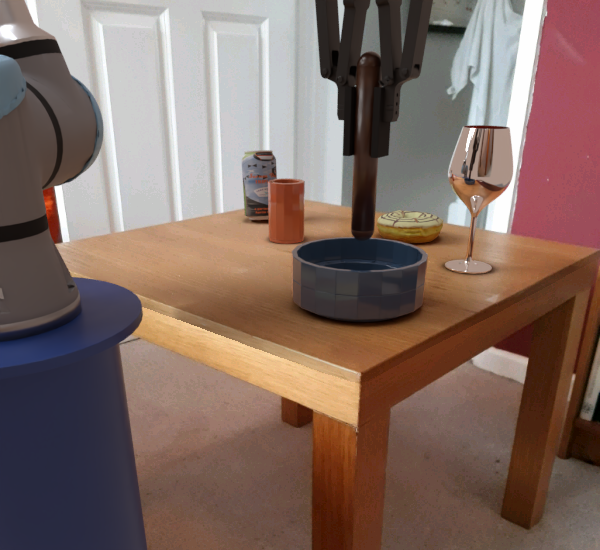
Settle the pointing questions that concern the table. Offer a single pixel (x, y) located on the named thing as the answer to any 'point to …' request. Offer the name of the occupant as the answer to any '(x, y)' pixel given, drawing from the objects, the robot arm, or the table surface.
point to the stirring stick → (364, 148)
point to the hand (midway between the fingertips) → (365, 155)
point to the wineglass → (479, 179)
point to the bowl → (358, 278)
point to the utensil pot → (286, 210)
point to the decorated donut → (409, 226)
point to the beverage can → (257, 182)
